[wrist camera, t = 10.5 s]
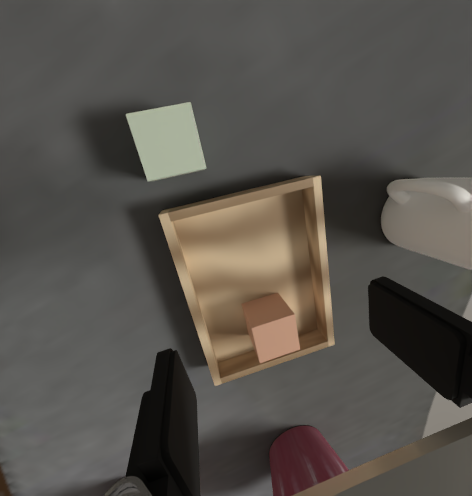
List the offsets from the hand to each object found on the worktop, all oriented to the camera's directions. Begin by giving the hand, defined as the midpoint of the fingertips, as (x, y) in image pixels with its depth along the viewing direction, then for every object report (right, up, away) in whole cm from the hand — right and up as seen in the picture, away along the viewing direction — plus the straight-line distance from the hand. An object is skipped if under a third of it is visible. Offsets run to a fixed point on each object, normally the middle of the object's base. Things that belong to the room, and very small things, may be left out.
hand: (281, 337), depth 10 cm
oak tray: (0, 0, +16) cm, 16 cm away
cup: (+17, +9, +17) cm, 26 cm away
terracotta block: (+1, -4, +17) cm, 17 cm away
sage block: (-8, +13, +10) cm, 18 cm away
